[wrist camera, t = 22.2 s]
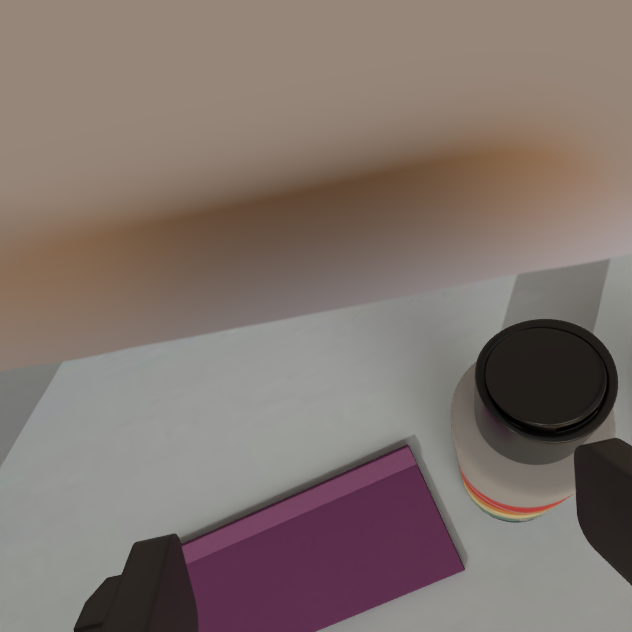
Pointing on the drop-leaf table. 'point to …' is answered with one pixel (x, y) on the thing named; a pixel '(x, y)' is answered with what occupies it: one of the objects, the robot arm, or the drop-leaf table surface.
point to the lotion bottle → (531, 415)
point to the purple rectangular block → (323, 552)
